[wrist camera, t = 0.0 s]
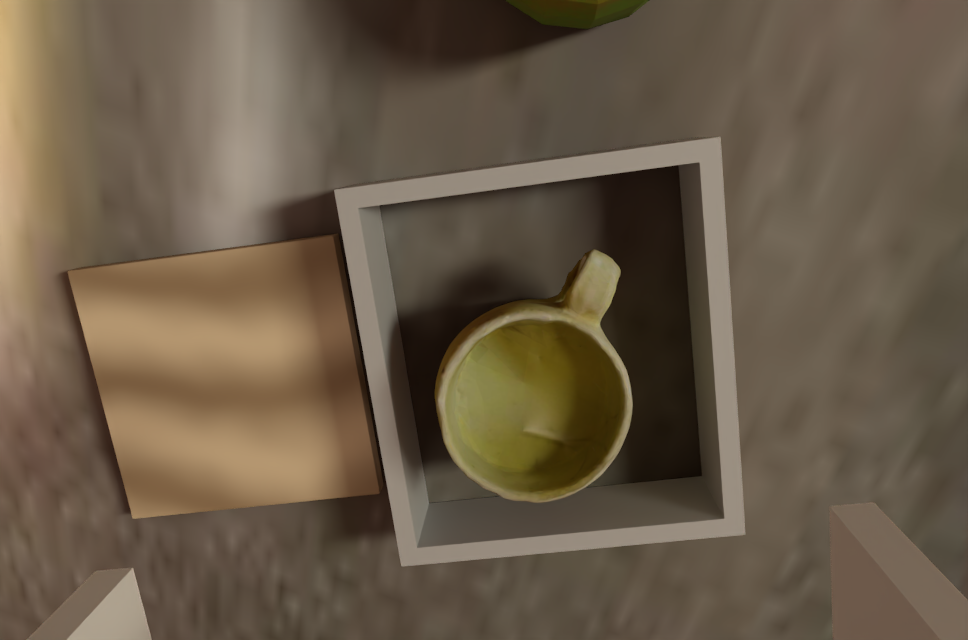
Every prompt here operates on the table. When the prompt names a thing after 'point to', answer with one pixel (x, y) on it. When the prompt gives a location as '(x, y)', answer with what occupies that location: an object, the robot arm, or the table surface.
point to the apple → (577, 11)
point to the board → (231, 376)
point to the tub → (593, 510)
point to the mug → (538, 391)
